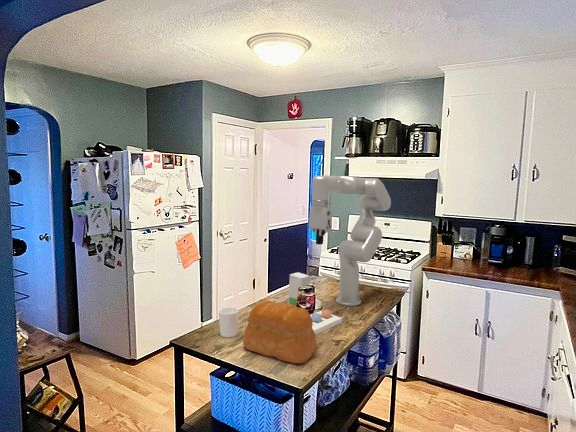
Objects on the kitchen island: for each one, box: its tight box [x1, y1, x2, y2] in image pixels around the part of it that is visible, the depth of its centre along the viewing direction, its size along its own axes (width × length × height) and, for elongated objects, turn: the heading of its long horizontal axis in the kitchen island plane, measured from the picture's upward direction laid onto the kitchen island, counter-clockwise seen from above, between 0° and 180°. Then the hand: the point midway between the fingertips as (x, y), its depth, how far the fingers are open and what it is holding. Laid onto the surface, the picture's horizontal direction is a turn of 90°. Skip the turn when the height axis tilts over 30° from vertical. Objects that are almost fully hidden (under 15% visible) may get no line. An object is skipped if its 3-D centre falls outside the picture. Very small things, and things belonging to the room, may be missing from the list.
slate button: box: [311, 312, 321, 323], centre depth 164 cm, size 4×4×4 cm
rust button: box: [321, 309, 332, 319], centre depth 168 cm, size 4×4×4 cm
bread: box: [242, 300, 318, 364], centre depth 143 cm, size 16×26×17 cm, turn 60°
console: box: [310, 310, 343, 336], centre depth 164 cm, size 20×12×4 cm, turn 136°
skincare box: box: [287, 271, 311, 306], centre depth 190 cm, size 8×7×16 cm
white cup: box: [218, 306, 239, 338], centre depth 157 cm, size 8×8×10 cm
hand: (319, 244), depth 176 cm, fingers closed
